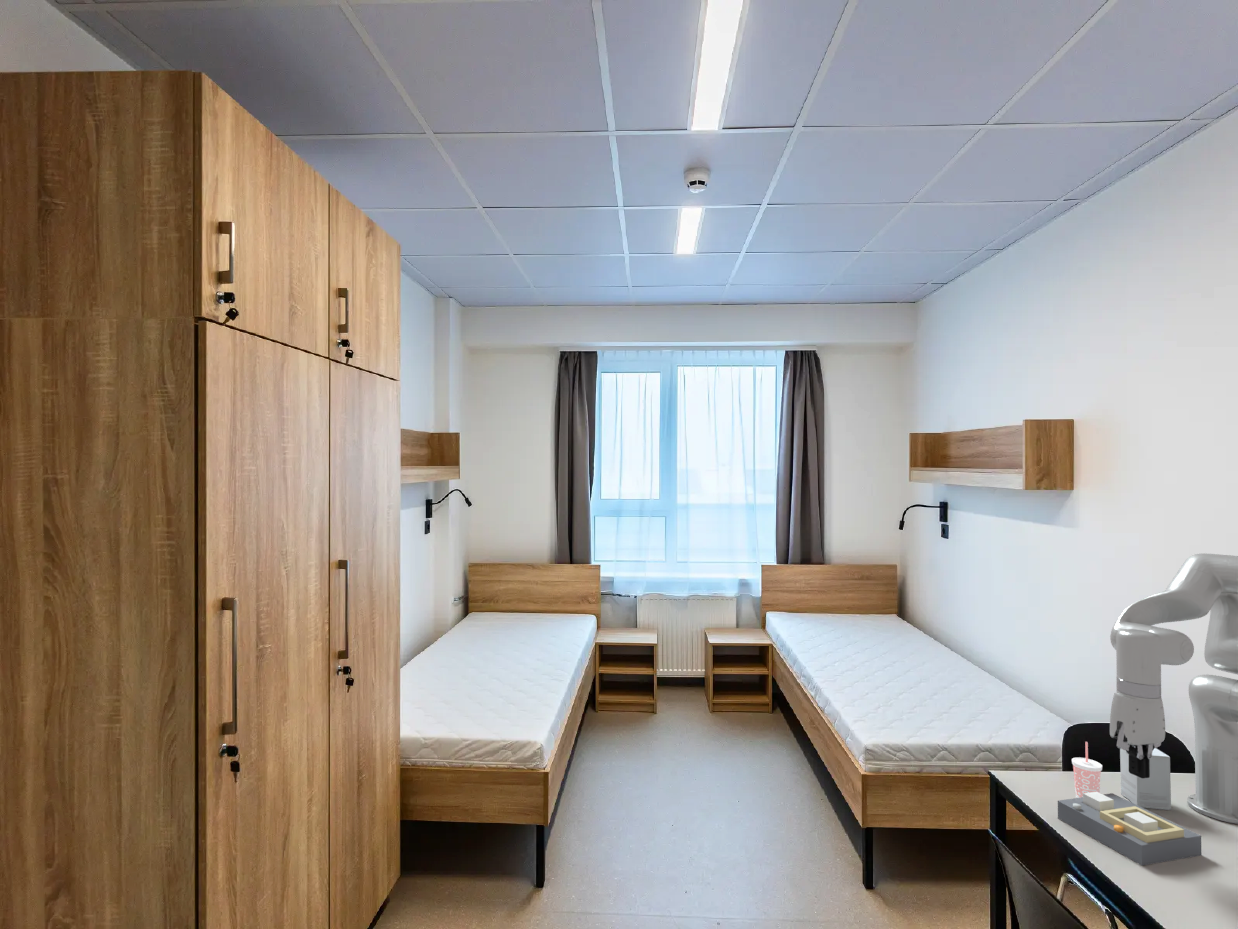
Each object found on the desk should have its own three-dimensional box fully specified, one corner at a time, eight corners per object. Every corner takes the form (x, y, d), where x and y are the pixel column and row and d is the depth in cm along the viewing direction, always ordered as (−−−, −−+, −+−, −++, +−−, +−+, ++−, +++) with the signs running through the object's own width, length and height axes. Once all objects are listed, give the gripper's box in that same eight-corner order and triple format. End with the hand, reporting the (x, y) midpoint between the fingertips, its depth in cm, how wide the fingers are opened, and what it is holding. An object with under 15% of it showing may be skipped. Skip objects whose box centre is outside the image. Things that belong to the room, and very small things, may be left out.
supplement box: (1172, 811, 154) (1171, 757, 154) (1136, 807, 155) (1136, 754, 155) (1153, 796, 161) (1152, 744, 161) (1119, 793, 162) (1118, 742, 163)
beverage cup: (1067, 798, 159) (1067, 741, 160) (1077, 791, 163) (1076, 735, 163) (1097, 808, 154) (1096, 749, 155) (1106, 801, 158) (1106, 743, 158)
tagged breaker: (1138, 830, 141) (1138, 812, 141) (1157, 840, 137) (1157, 821, 137) (1124, 832, 140) (1123, 814, 140) (1143, 842, 136) (1142, 823, 136)
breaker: (1096, 809, 150) (1096, 791, 150) (1113, 817, 146) (1113, 799, 146) (1083, 811, 149) (1082, 793, 149) (1099, 819, 145) (1099, 801, 145)
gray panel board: (1112, 810, 154) (1112, 786, 154) (1201, 855, 135) (1201, 828, 135) (1057, 818, 150) (1057, 794, 150) (1141, 865, 131) (1141, 838, 132)
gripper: (1147, 681, 145) (1148, 765, 144) (1094, 685, 141) (1094, 771, 141) (1184, 692, 137) (1184, 780, 137) (1128, 696, 134) (1129, 786, 133)
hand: (1139, 775), depth 139 cm, fingers closed
